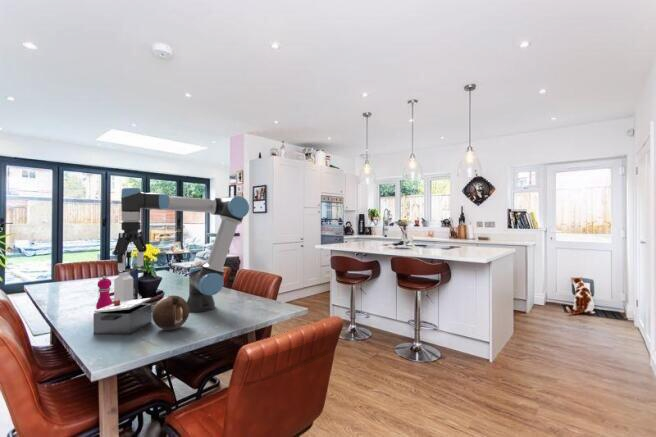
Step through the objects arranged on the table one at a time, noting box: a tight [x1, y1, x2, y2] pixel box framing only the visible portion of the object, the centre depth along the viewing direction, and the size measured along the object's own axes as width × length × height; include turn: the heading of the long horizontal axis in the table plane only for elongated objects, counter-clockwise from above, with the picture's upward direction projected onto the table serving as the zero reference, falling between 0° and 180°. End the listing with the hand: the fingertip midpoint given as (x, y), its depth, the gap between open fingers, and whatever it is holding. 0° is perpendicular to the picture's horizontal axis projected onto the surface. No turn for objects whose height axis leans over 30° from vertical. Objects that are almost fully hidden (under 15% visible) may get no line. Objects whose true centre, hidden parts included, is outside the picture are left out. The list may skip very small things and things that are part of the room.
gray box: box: [93, 303, 152, 336], centre depth 148 cm, size 16×21×9 cm
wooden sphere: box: [151, 295, 190, 331], centre depth 147 cm, size 15×15×15 cm
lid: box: [93, 297, 153, 313], centre depth 148 cm, size 16×16×3 cm
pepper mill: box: [95, 275, 114, 310], centre depth 169 cm, size 7×7×20 cm
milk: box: [113, 271, 134, 302], centre depth 168 cm, size 6×6×22 cm
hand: (131, 268), depth 149 cm, fingers open, 13 cm apart
